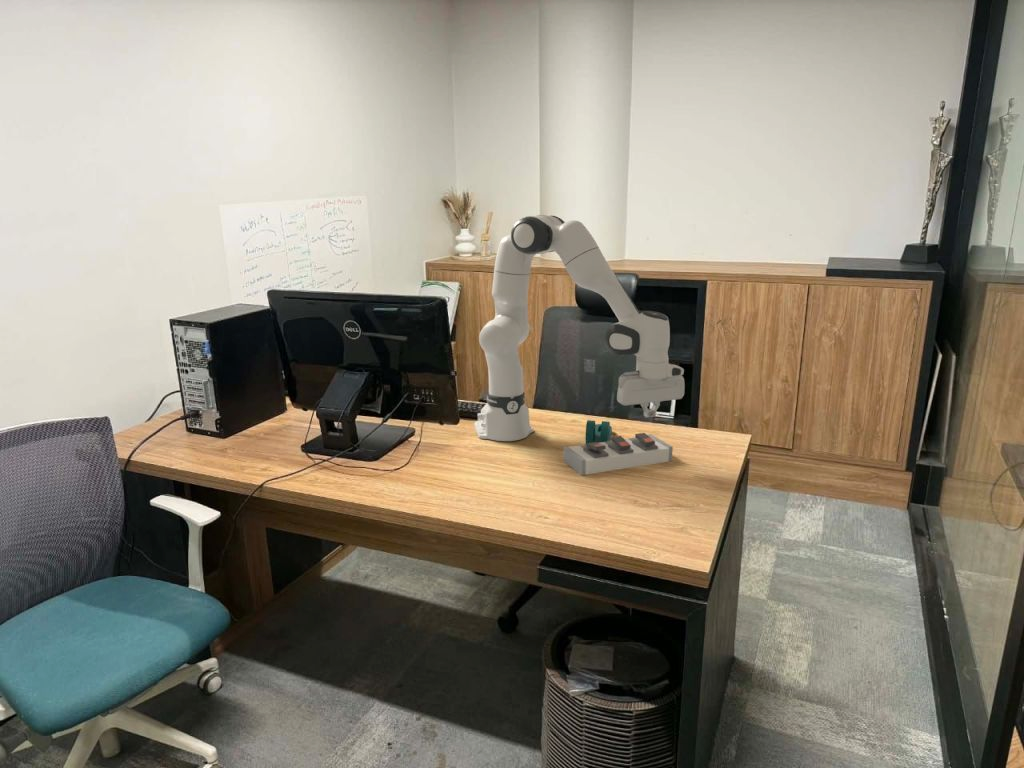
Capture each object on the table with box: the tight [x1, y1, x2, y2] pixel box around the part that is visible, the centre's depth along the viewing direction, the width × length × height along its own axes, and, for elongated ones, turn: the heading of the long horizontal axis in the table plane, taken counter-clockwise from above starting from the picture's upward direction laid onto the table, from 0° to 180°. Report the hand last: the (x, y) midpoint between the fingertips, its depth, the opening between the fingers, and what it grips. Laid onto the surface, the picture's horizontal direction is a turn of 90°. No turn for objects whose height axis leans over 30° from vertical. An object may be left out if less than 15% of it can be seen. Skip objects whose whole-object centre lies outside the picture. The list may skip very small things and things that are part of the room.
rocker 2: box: [610, 435, 631, 450], centre depth 201 cm, size 6×3×1 cm, turn 21°
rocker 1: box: [586, 442, 606, 451], centre depth 198 cm, size 6×3×1 cm, turn 21°
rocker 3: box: [634, 432, 655, 446], centre depth 204 cm, size 6×3×1 cm, turn 21°
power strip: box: [563, 433, 674, 476], centre depth 203 cm, size 12×29×5 cm, turn 111°
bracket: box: [584, 420, 613, 445], centre depth 221 cm, size 18×7×8 cm, turn 167°
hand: (649, 416), depth 200 cm, fingers closed
